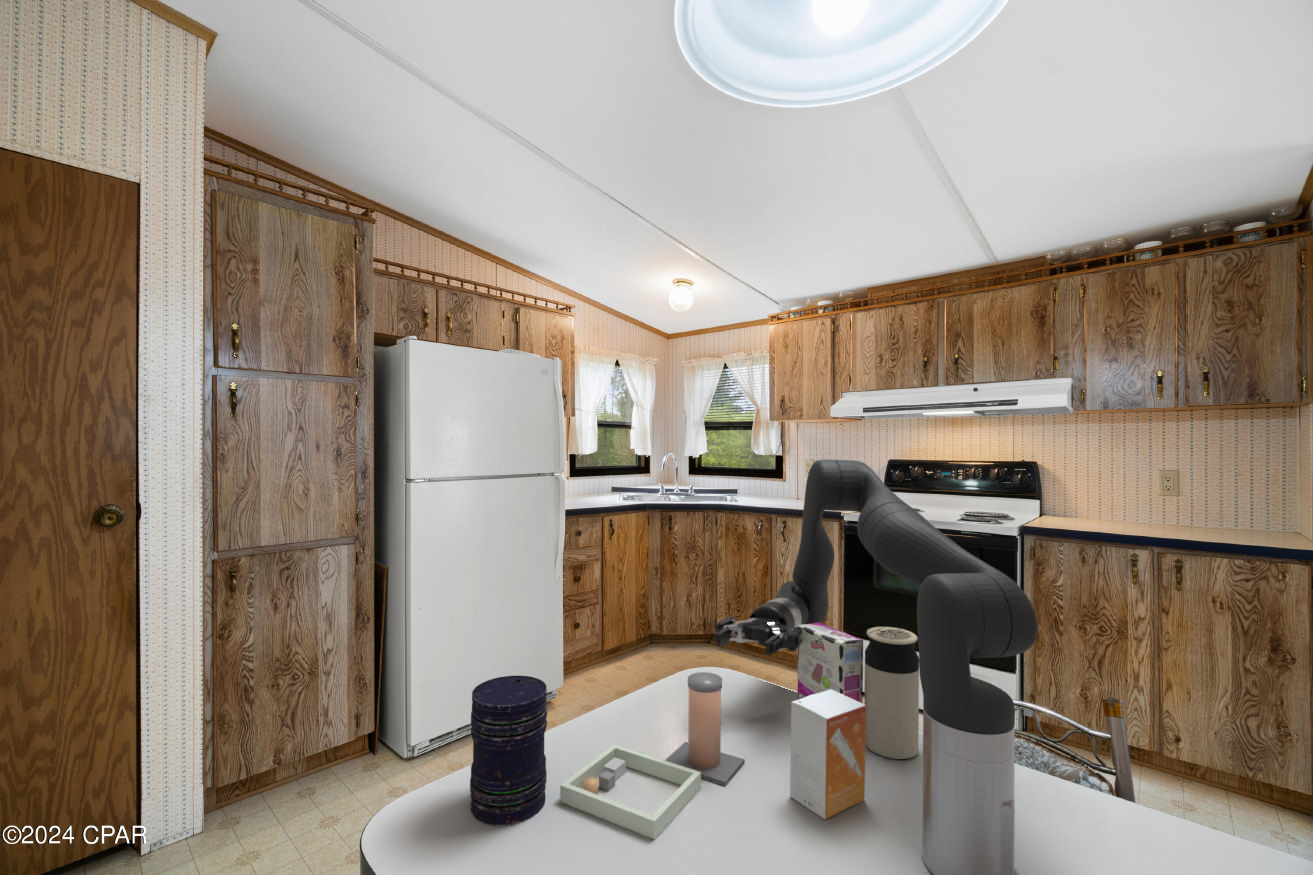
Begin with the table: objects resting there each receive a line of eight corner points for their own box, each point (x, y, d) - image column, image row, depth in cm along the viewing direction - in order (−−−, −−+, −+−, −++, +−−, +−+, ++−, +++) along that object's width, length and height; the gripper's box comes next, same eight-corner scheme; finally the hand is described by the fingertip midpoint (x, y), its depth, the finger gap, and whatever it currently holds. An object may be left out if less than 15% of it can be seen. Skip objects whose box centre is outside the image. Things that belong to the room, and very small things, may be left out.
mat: (744, 763, 90) (744, 759, 90) (725, 785, 84) (725, 781, 84) (685, 745, 95) (685, 741, 95) (663, 765, 89) (663, 761, 89)
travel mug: (929, 752, 93) (930, 636, 94) (896, 766, 89) (897, 645, 89) (885, 730, 100) (886, 623, 100) (853, 743, 96) (854, 630, 96)
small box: (825, 821, 76) (826, 718, 76) (788, 796, 81) (789, 700, 81) (866, 801, 81) (867, 703, 81) (829, 778, 86) (829, 687, 86)
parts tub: (700, 787, 83) (701, 772, 83) (654, 839, 72) (654, 821, 72) (614, 758, 91) (614, 744, 91) (560, 801, 80) (560, 784, 80)
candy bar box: (864, 741, 97) (865, 639, 97) (840, 747, 95) (841, 643, 95) (818, 712, 107) (819, 620, 107) (795, 717, 105) (796, 623, 105)
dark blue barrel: (530, 830, 74) (531, 708, 74) (455, 821, 75) (457, 702, 75) (556, 784, 84) (557, 677, 84) (489, 778, 85) (491, 672, 85)
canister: (727, 757, 90) (727, 676, 90) (712, 773, 86) (713, 688, 86) (696, 748, 93) (697, 669, 93) (681, 763, 88) (681, 680, 88)
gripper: (740, 596, 115) (703, 615, 101) (814, 606, 108) (785, 627, 94) (740, 635, 115) (703, 660, 101) (814, 648, 108) (785, 675, 94)
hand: (742, 644), depth 98 cm, fingers open, 8 cm apart
